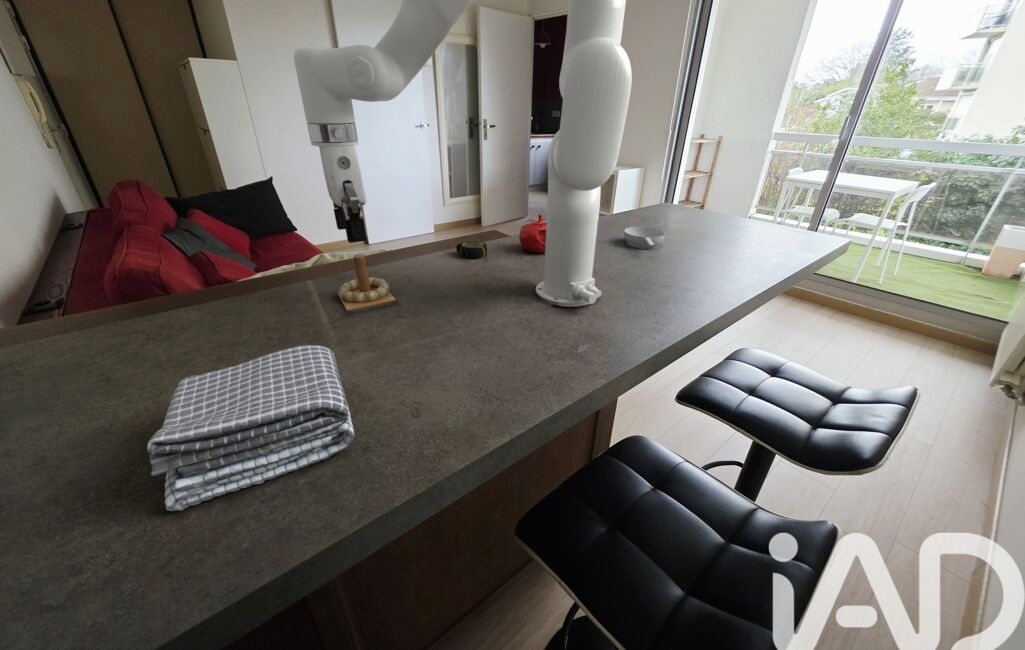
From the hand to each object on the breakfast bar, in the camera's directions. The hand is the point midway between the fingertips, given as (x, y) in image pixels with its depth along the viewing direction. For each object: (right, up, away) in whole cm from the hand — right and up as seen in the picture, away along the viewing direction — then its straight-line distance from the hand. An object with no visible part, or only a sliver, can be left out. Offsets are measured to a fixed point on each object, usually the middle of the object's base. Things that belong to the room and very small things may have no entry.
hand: (351, 234), depth 78 cm
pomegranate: (+37, +3, +32) cm, 49 cm away
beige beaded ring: (+1, -10, +3) cm, 11 cm away
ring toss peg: (+2, -12, +3) cm, 13 cm away
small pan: (+66, +4, +34) cm, 74 cm away
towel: (+2, -30, -30) cm, 42 cm away
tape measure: (+20, 0, +26) cm, 33 cm away
